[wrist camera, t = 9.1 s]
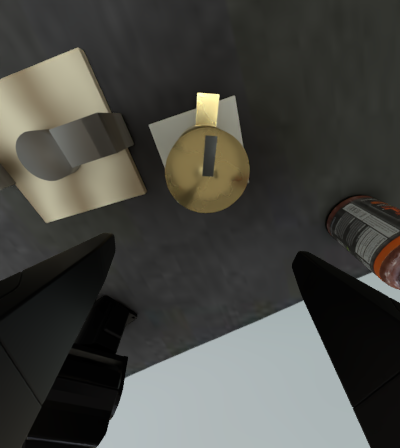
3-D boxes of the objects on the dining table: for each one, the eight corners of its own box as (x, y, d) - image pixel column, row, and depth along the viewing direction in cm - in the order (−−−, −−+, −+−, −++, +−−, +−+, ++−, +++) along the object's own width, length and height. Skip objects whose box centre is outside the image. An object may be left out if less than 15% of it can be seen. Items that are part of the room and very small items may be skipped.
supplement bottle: (387, 201, 22) (542, 270, 12) (352, 241, 25) (456, 324, 15) (345, 186, 21) (478, 248, 11) (314, 230, 24) (398, 311, 14)
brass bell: (224, 204, 21) (237, 241, 15) (174, 201, 21) (165, 238, 15) (239, 97, 16) (269, 86, 10) (174, 91, 16) (162, 76, 10)
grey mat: (178, 201, 21) (177, 202, 21) (149, 124, 17) (148, 124, 17) (248, 181, 20) (249, 182, 20) (234, 95, 17) (234, 95, 16)
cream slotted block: (43, 221, 22) (3, 250, 17) (-52, 105, 16) (-151, 100, 12) (155, 188, 20) (144, 210, 16) (95, 46, 15) (48, 13, 10)
